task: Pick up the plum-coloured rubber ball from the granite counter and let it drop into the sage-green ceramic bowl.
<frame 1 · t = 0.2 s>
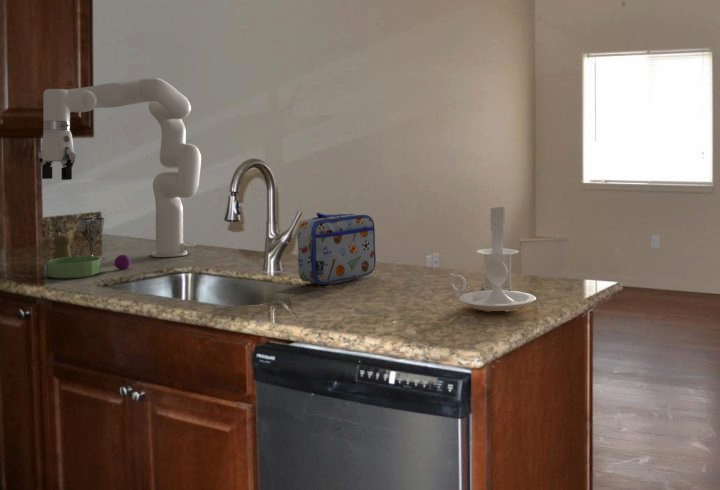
hand: (56, 179, 259), 31 cm above the worktop, tool pointing down, fingers open, 9 cm apart
bowl: (73, 275, 257), on the worktop
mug: (494, 290, 238), on the worktop
ball: (122, 262, 268), point 2 cm above the worktop
cork: (62, 267, 272), on the worktop
lunch box: (336, 281, 250), on the worktop
candlestick: (490, 309, 212), on the worktop
wine glass: (91, 260, 288), on the worktop
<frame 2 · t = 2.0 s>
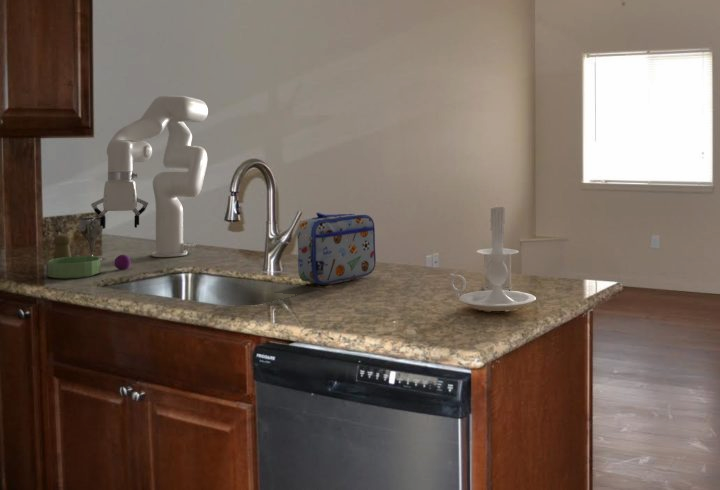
hand: (120, 227, 267), 14 cm above the worktop, tool pointing down, fingers open, 9 cm apart
nothing on the worktop moved.
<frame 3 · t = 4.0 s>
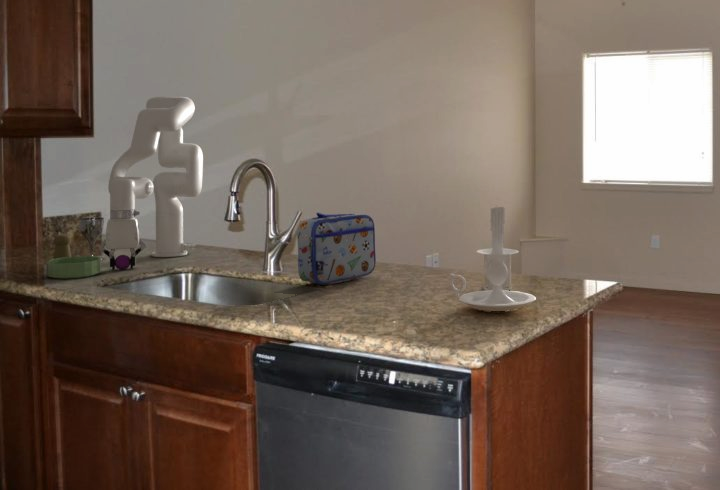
hand: (122, 268, 268), 0 cm above the worktop, tool pointing down, fingers closed on ball, 4 cm apart
ball: (122, 262, 268), point 2 cm above the worktop, touching gripper
everything else where it was.
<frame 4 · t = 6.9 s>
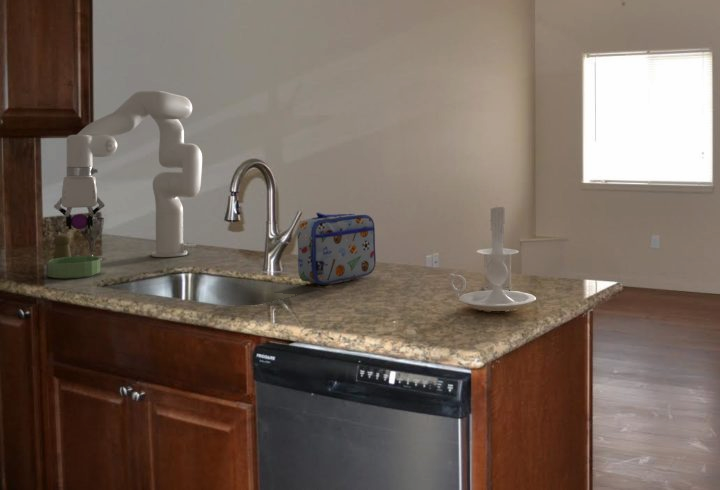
hand: (79, 227, 258), 15 cm above the worktop, tool pointing down, fingers closed on ball, 4 cm apart
ball: (79, 221, 258), point 17 cm above the worktop, touching gripper
everything else where it was.
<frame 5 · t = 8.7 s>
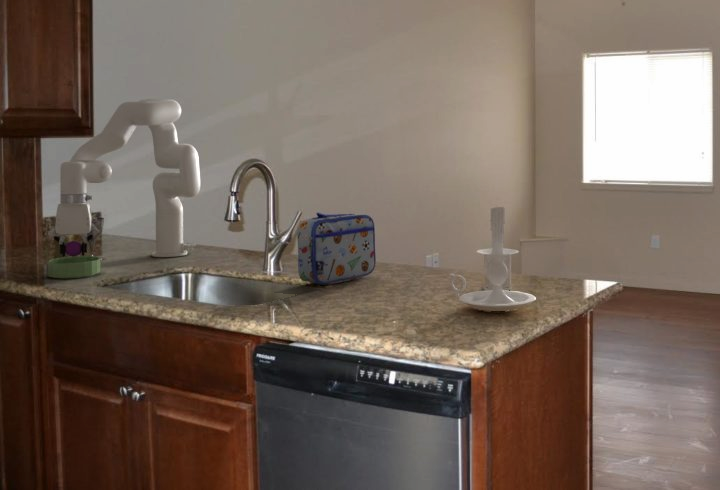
hand: (73, 255, 257), 7 cm above the worktop, tool pointing down, fingers closed on ball, 4 cm apart
ball: (73, 248, 257), point 9 cm above the worktop, touching gripper
everything else where it was.
when the fingers open (3 cm above the worktop, at t = 10.0 s): ball drops 2 cm, resting on bowl.
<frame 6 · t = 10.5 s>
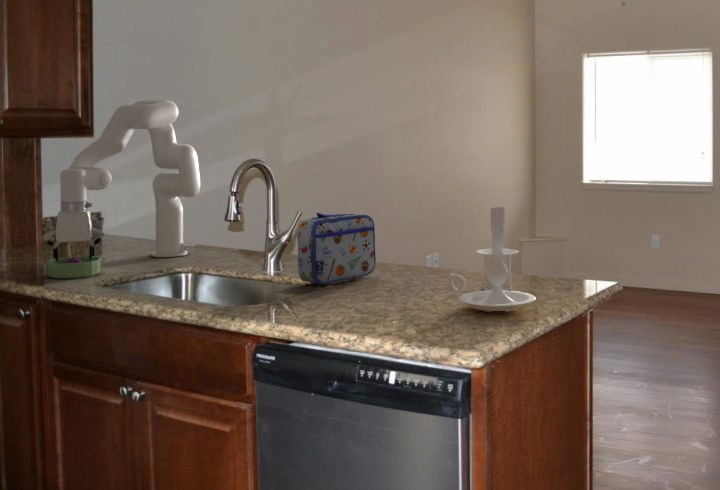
hand: (74, 259, 257), 5 cm above the worktop, tool pointing down, fingers open, 9 cm apart
ball: (73, 265, 257), point 3 cm above the worktop, touching bowl
everything else where it was.
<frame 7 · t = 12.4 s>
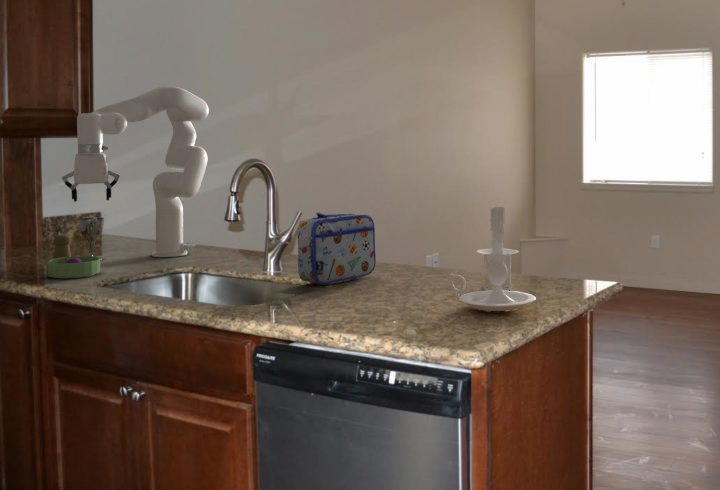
hand: (91, 200, 266), 23 cm above the worktop, tool pointing down, fingers open, 9 cm apart
nothing on the worktop moved.
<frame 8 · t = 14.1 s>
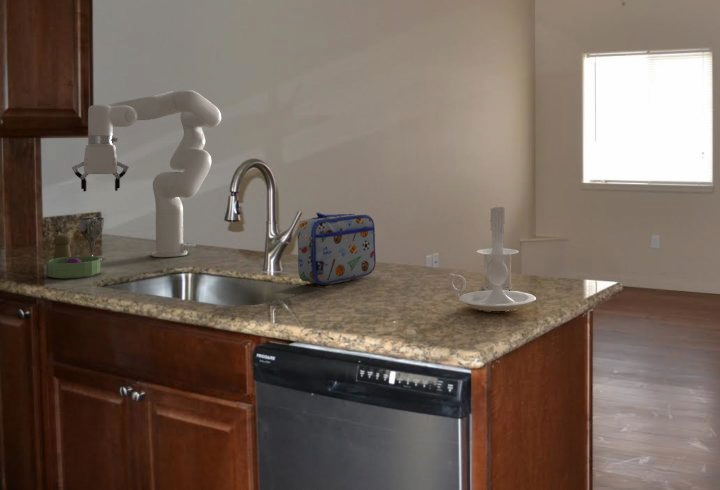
hand: (100, 190, 272), 26 cm above the worktop, tool pointing down, fingers open, 9 cm apart
nothing on the worktop moved.
at the end: ball inside the target area in the bowl (0.1 cm from its centre), point 3.1 cm above the bowl's base; the gripper is holding nothing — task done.
